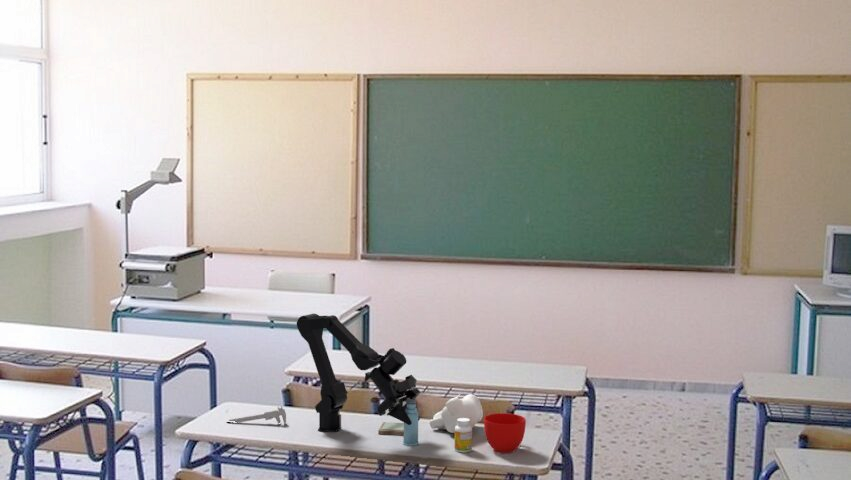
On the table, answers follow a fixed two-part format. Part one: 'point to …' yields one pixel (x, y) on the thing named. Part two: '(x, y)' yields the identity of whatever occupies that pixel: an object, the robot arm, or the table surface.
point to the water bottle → (412, 429)
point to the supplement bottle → (463, 435)
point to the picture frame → (391, 428)
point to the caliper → (264, 416)
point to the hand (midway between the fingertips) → (414, 422)
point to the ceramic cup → (504, 431)
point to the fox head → (458, 413)
